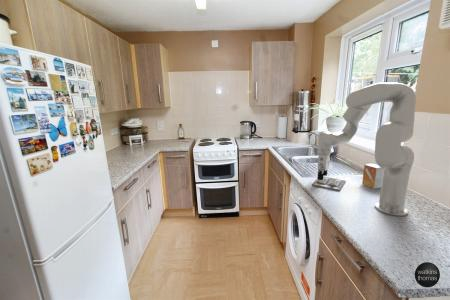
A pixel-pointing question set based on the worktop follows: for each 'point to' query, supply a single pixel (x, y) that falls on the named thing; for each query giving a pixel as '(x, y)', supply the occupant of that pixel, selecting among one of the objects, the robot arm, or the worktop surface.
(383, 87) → the robot arm
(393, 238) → the worktop surface
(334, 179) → the switch
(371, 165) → the small box
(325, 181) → the switch unit
